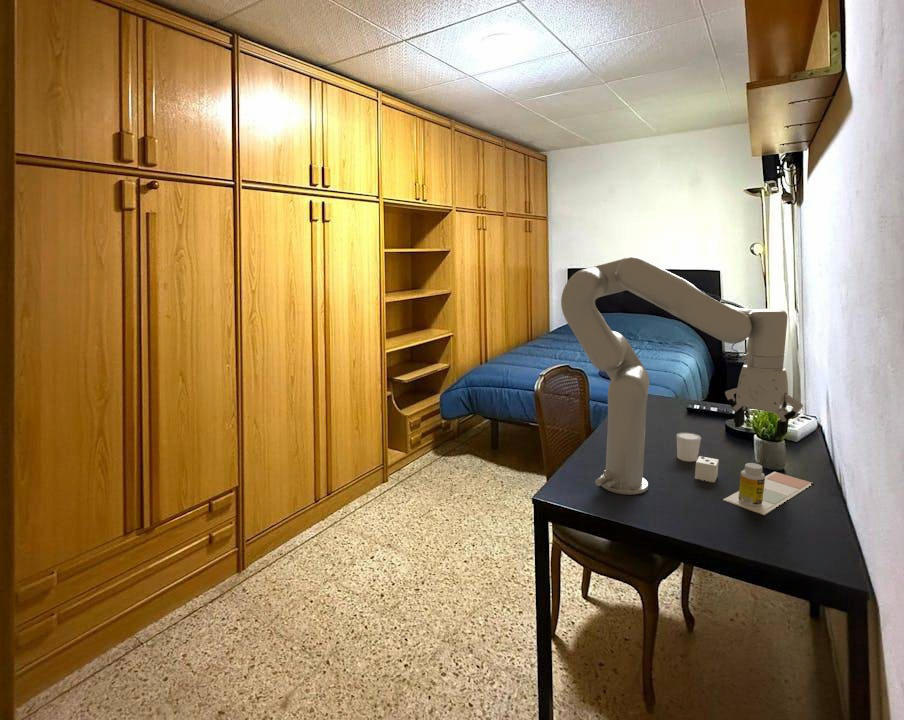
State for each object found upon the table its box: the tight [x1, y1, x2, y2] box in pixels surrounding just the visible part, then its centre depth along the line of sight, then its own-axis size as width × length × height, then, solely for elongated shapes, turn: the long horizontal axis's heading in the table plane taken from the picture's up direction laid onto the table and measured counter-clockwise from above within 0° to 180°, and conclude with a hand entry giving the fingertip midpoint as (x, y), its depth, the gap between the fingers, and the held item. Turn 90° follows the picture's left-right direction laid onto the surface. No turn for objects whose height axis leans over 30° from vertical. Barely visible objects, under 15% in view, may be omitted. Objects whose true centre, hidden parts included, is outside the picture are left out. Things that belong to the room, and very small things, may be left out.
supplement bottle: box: [738, 462, 766, 506], centre depth 135 cm, size 5×5×10 cm
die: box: [694, 455, 720, 484], centre depth 152 cm, size 5×5×5 cm
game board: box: [722, 471, 812, 516], centre depth 142 cm, size 28×10×1 cm, turn 126°
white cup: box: [676, 432, 702, 462], centre depth 165 cm, size 7×7×7 cm
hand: (759, 431), depth 132 cm, fingers open, 9 cm apart
